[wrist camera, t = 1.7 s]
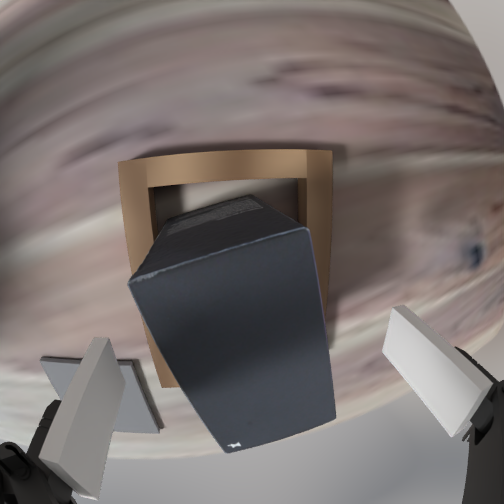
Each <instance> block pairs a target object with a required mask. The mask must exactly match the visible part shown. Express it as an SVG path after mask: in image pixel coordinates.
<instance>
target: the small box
mask: <svg viewBox="0 0 504 504" xmlns="http://www.w3.org/2000/svg"><path fill="white" fill-rule="evenodd" d="M128 287H129V289H130V291H131V294H132V296H133V298H134V300H135V303H136V305H137V307H138V309H139V311H140V314H141V316H142V318H143V320H144V322H145V324H146V326H147V328H148V330H149V332H150V334H151V336H152V338H153V340H154V342H155V344H156V345H157V347H158V349H159V351H160V353H161V355H162V357H163V358H164V360H165V362H166V364H167V366H168V367H169V369H170V371H171V372H172V374H173V376H174V378H175V380H176V381H177V383H178V384H179V386H180V388H181V390H182V391H183V393H184V394H185V396H186V397H187V399H188V401H189V402H190V404H191V405H192V407H193V408H194V410H195V411H196V413H197V414H198V416H199V418H200V419H201V421H202V422H203V423H204V425H205V426H206V428H207V429H208V431H209V432H210V433H211V435H212V436H213V438H214V439H215V441H216V442H217V443H218V444H219V446H220V447H221V448H222V450H223V451H224V452H225V453H232V452H236V451H241V450H245V449H249V448H252V447H257V446H260V445H264V444H267V443H271V442H274V441H277V440H281V439H284V438H287V437H290V436H293V435H295V434H299V433H301V432H304V431H307V430H310V429H313V428H315V427H318V426H320V425H323V424H325V423H328V422H330V421H333V420H335V419H336V410H335V399H334V390H333V381H332V372H331V364H330V356H329V348H328V340H327V333H326V325H325V318H324V311H323V305H322V298H321V292H320V285H319V279H318V273H317V267H316V261H315V255H314V250H313V244H312V239H311V234H310V230H309V229H308V228H307V227H305V226H303V225H302V224H300V223H298V222H296V221H295V220H293V219H291V218H290V217H288V216H286V215H285V214H283V213H281V212H280V211H278V210H276V209H274V208H273V207H271V206H270V205H268V204H266V203H265V202H263V201H261V200H260V199H258V198H256V197H255V196H253V195H247V196H244V197H240V198H236V199H232V200H228V201H226V202H222V203H218V204H215V205H212V206H208V207H205V208H202V209H198V210H195V211H192V212H188V213H185V214H182V215H179V216H176V217H172V218H170V219H168V220H167V221H166V222H165V225H164V227H163V229H162V230H161V232H160V234H159V235H158V237H157V238H156V240H155V242H154V243H153V245H152V246H151V248H150V250H149V252H148V254H147V255H146V256H145V259H144V260H143V262H142V264H140V266H139V267H138V269H137V271H136V272H135V273H134V274H133V275H132V276H131V278H130V279H129V281H128Z"/></svg>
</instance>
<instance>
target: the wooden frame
mask: <svg viewBox="0 0 504 504" xmlns="http://www.w3.org/2000/svg"><path fill="white" fill-rule="evenodd" d="M118 171H119V184H120V195H121V204H122V213H123V221H124V228H125V235H126V242H127V248H128V254H129V260H130V266H131V271H132V275H133V274H134V273H135V272H136V271H137V269H138V267H139V266H140V264H142V262H143V260H144V259H145V256H146V255H147V254H148V252H149V250H150V248H151V246H152V245H153V243H154V242H155V240H156V238H157V237H158V228H157V219H156V209H155V199H154V187H156V186H166V185H176V184H186V183H198V182H211V181H226V180H244V179H269V178H298V223H300V224H302V225H303V226H305V227H307V228H308V229H309V230H310V234H311V239H312V244H313V250H314V255H315V261H316V267H317V273H318V279H319V285H320V292H321V298H322V305H323V311H324V318H325V316H326V306H327V295H328V283H329V269H330V253H331V232H332V193H333V164H332V151H330V150H301V149H259V150H229V151H212V152H198V153H186V154H175V155H166V156H157V157H149V158H141V159H134V160H127V161H121V162H118ZM141 317H142V316H141ZM142 321H143V325H144V329H145V333H146V337H147V340H148V344H149V348H150V351H151V355H152V358H153V361H154V365H155V368H156V371H157V374H158V377H159V380H160V384H161V387H162V388H171V387H180V386H179V384H178V383H177V381H176V380H175V378H174V376H173V374H172V372H171V371H170V369H169V367H168V366H167V364H166V362H165V360H164V358H163V357H162V355H161V353H160V351H159V349H158V347H157V345H156V344H155V342H154V340H153V338H152V336H151V334H150V332H149V330H148V328H147V326H146V324H145V322H144V320H143V318H142Z"/></svg>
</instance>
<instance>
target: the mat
mask: <svg viewBox="0 0 504 504" xmlns="http://www.w3.org/2000/svg"><path fill="white" fill-rule="evenodd" d="M81 361H82V360H72V359H58V358H46V357H42V358H41V359H40V363H41V365H42V367H43V369H44V371H45V373H46V374H47V376H48V378H49V380H50V382H51V384H52V385H53V387H54V389H55V391H56V392H57V394H58V396H59V397H60V399H61V401H62V400H63V397H64V395H65V393H66V391H67V389H68V387H69V385H70V383H71V381H72V379H73V377H74V375H75V373H76V371H77V369H78V367H79V365H80V363H81ZM117 362H118V364H119V367H120V370H121V372H122V375H123V377H124V380H125V382H126V384H125V388H124V391H123V395H122V398H121V402H120V406H119V409H118V413H117V417H116V421H115V425H114V429H113V431H117V432H131V433H158V434H159V433H160V429H159V427H158V424H157V422H156V420H155V418H154V416H153V413H152V411H151V409H150V406H149V404H148V402H147V399H146V397H145V394H144V392H143V389H142V387H141V384H140V382H139V379H138V376H137V373H136V371H135V368H134V365H133V362H132V361H117Z"/></svg>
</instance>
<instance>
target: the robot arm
mask: <svg viewBox="0 0 504 504" xmlns="http://www.w3.org/2000/svg"><path fill="white" fill-rule="evenodd" d="M382 352H383V354H384V355H385V356H386V357H387V358H388V360H389V361H390V362H391V363H392V364H393V366H394V367H395V368H396V369H397V370H398V372H399V373H400V374H401V375H402V376H403V378H404V379H405V380H406V381H407V382H408V384H409V385H410V386H411V387H412V389H413V390H414V391H415V392H416V393H417V395H418V396H419V397H420V398H421V400H422V401H423V402H424V403H425V405H426V406H427V407H428V408H429V409H430V411H431V412H432V413H433V415H434V416H435V417H436V418H437V420H438V421H439V422H440V424H441V425H442V426H443V427H444V429H445V430H446V431H447V433H448V434H449V435H450V436H451V437H453V436H455V435H456V434H458V433H459V432H461V431H462V430H464V428H465V427H466V425H467V424H468V423H469V421H471V422H472V426H471V427H470V428H469V430H468V431H467V433H466V434H465V435H464V437H463V439H462V441H464V440H465V439H466V438H467V437H468V435H469V434H470V437H469V438H468V440H467V442H469V457H468V467H467V475H466V483H465V489H464V495H463V501H462V504H504V380H502V381H500V382H499V381H497V380H496V379H495V378H494V377H493V376H492V375H491V374H490V373H489V372H488V371H486V370H485V369H484V368H483V367H482V366H481V365H480V364H477V361H475V360H474V359H472V357H471V356H470V355H469V354H468V353H466V352H465V351H464V350H462V349H460V348H458V347H453V346H452V345H451V344H450V343H449V342H448V341H446V340H445V339H444V338H443V337H442V336H441V335H440V334H438V333H437V332H436V331H435V330H434V329H433V328H431V327H430V326H429V325H428V324H427V323H425V322H424V321H423V320H422V319H421V318H420V317H418V316H417V315H416V314H415V313H413V312H412V311H411V310H410V309H409V308H407V307H406V306H405V305H401V306H396V307H392V312H391V316H390V321H389V325H388V330H387V334H386V338H385V342H384V346H383V350H382ZM125 384H126V382H125V380H124V377H123V375H122V372H121V370H120V367H119V364H118V362H117V359H116V356H115V354H114V351H113V348H112V345H111V342H110V339H109V338H94V339H93V341H92V342H91V344H90V346H89V348H88V350H87V352H86V353H85V355H84V357H83V359H82V361H81V363H80V365H79V367H78V369H77V371H76V373H75V375H74V377H73V379H72V381H71V383H70V385H69V387H68V389H67V391H66V393H65V395H64V397H63V400H62V401H61V400H54V401H53V402H52V403H51V404H50V405H49V406H48V407H47V408H46V410H45V412H44V414H43V416H42V419H41V421H40V423H39V427H37V430H36V432H35V434H34V437H33V439H32V441H31V444H30V446H29V449H28V451H27V453H26V454H25V452H24V451H23V450H22V449H21V448H20V447H19V446H18V445H17V444H15V443H13V442H4V443H2V444H1V445H0V504H77V503H76V501H75V499H74V498H73V497H72V496H71V495H72V490H74V491H75V492H76V493H77V494H78V495H80V496H82V497H86V498H90V499H94V500H99V495H100V490H101V484H102V478H103V474H104V469H105V464H106V459H107V454H108V450H109V445H110V441H111V437H112V433H113V429H114V425H115V421H116V417H117V413H118V409H119V406H120V402H121V398H122V395H123V391H124V388H125Z"/></svg>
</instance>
